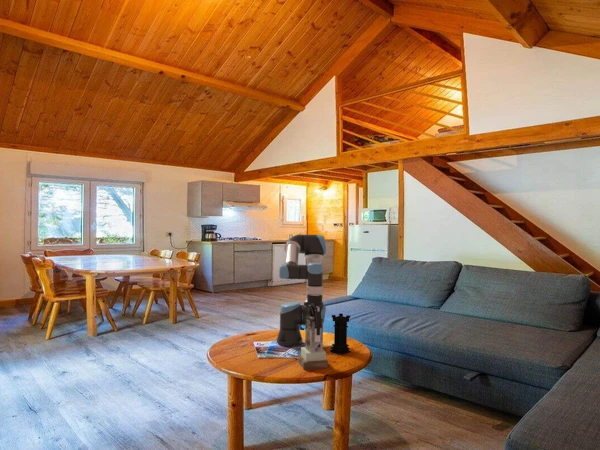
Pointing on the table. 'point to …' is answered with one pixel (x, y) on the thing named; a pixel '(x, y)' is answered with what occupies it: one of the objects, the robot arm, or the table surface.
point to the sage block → (312, 355)
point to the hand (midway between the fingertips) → (314, 338)
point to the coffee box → (312, 336)
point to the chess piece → (340, 335)
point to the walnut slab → (312, 363)
